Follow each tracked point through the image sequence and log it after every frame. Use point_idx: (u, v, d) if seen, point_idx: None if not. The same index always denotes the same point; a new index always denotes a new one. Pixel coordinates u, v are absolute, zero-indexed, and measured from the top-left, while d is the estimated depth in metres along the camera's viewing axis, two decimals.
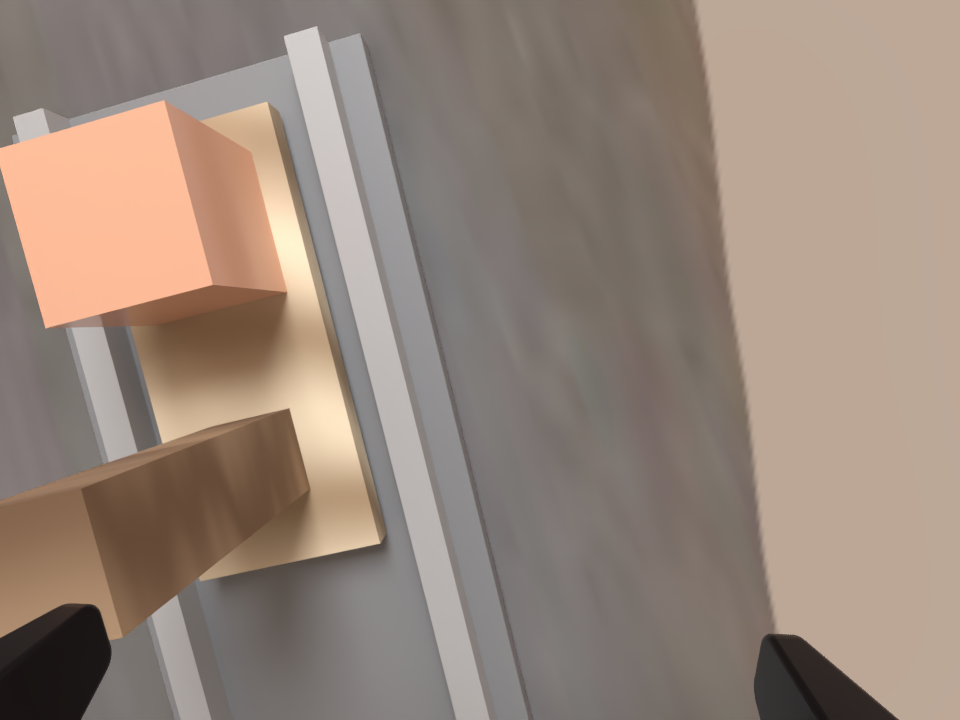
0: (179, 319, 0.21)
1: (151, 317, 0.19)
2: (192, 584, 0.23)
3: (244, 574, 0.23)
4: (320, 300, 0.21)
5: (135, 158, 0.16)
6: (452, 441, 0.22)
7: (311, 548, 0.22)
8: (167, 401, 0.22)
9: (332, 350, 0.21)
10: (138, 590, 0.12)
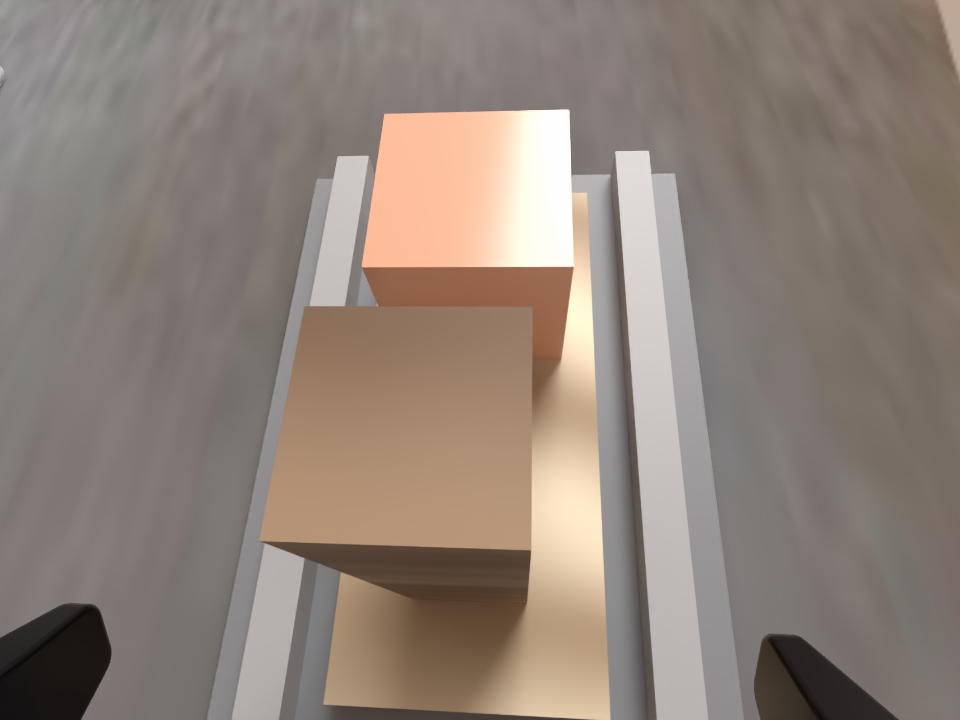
0: None
1: None
2: (292, 716, 0.16)
3: None
4: (594, 378, 0.18)
5: (523, 145, 0.15)
6: (718, 602, 0.16)
7: (505, 697, 0.14)
8: None
9: None
10: None
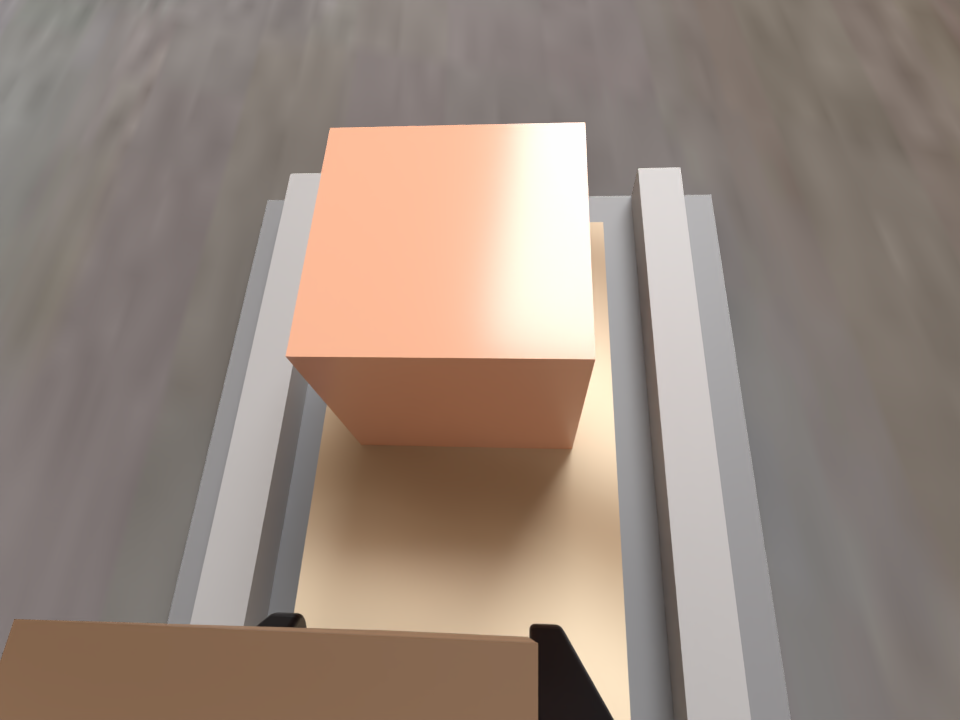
0: (398, 444, 0.14)
1: (394, 415, 0.12)
2: None
3: None
4: (615, 476, 0.14)
5: (521, 173, 0.11)
6: None
7: None
8: (329, 564, 0.13)
9: (620, 557, 0.13)
10: None
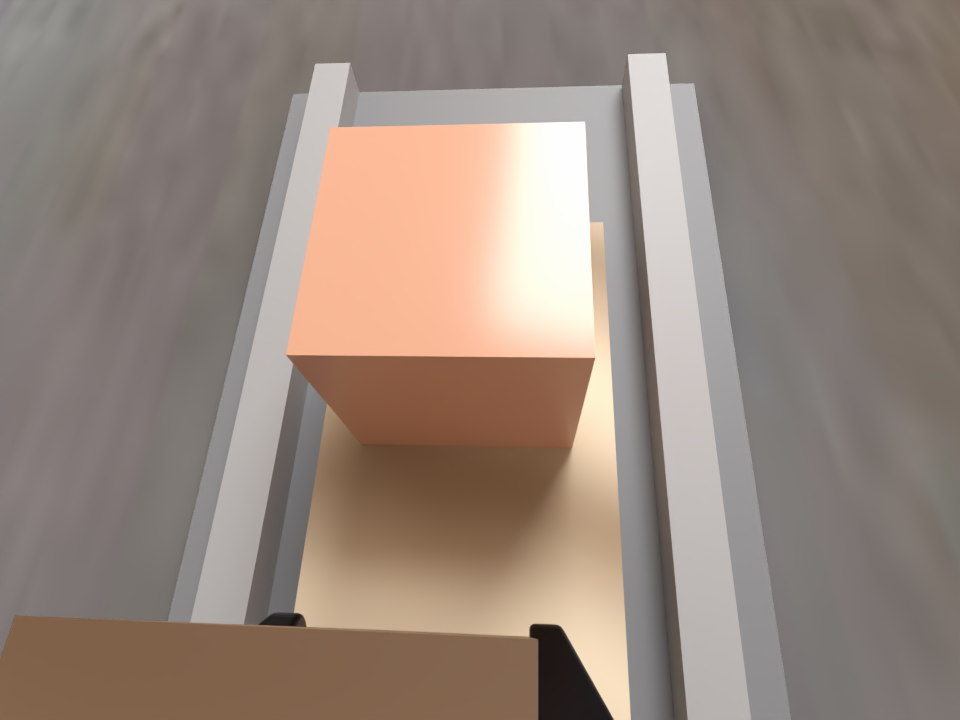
0: (398, 444, 0.14)
1: (394, 415, 0.12)
2: None
3: None
4: (615, 476, 0.14)
5: (522, 173, 0.11)
6: (752, 547, 0.14)
7: None
8: (329, 564, 0.13)
9: (620, 557, 0.13)
10: None
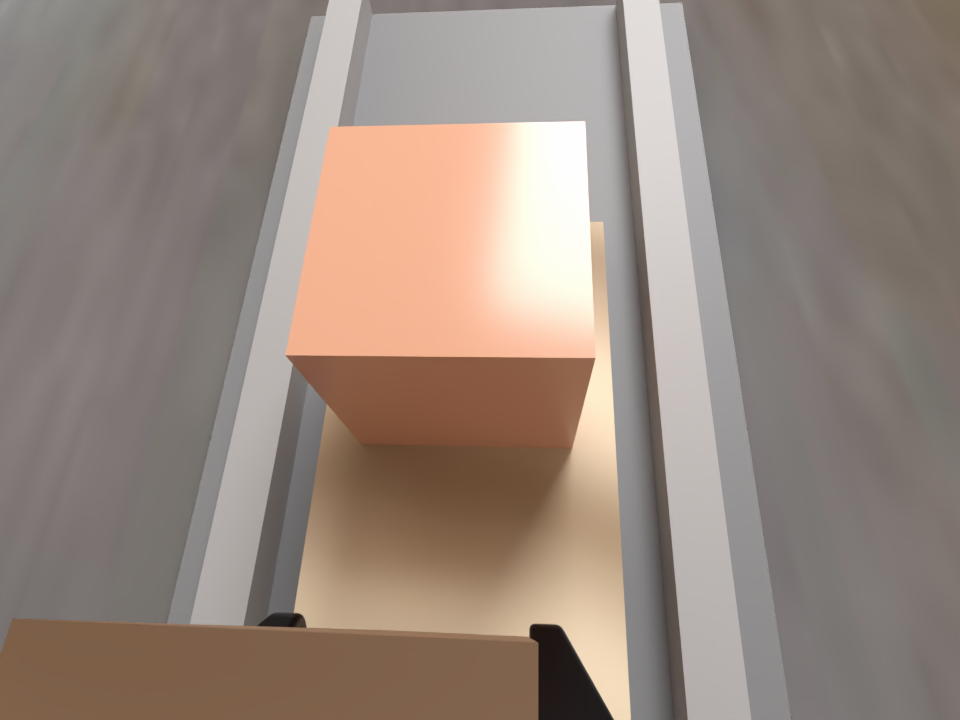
0: (398, 444, 0.14)
1: (394, 415, 0.12)
2: (285, 494, 0.15)
3: None
4: (615, 475, 0.14)
5: (522, 172, 0.11)
6: (729, 383, 0.16)
7: None
8: (328, 564, 0.13)
9: (620, 557, 0.13)
10: None
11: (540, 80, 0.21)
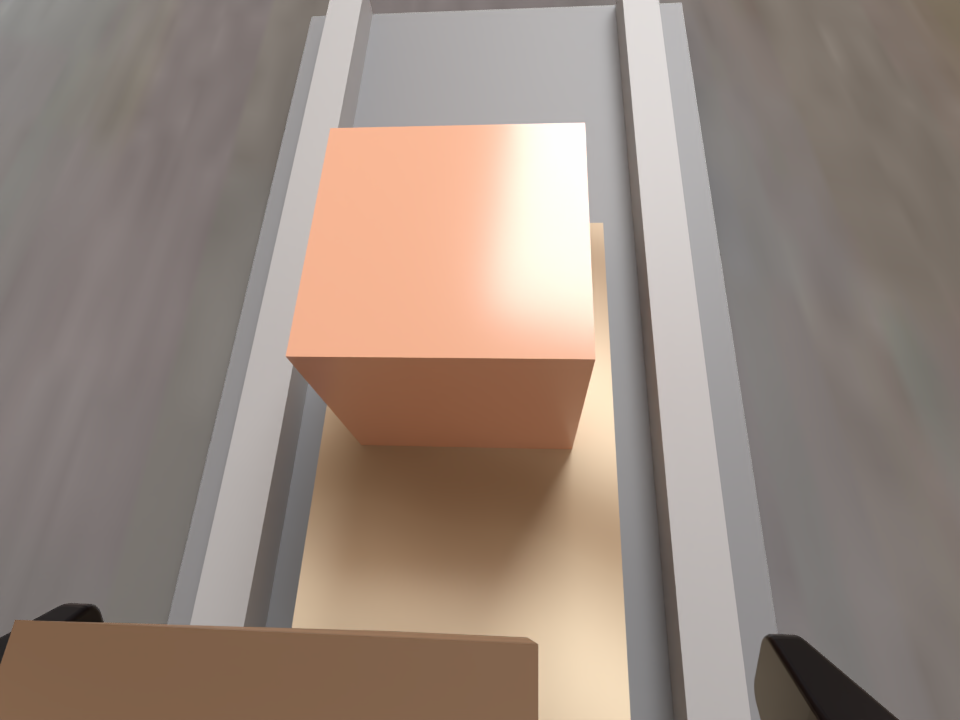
0: (398, 444, 0.14)
1: (394, 416, 0.12)
2: (286, 492, 0.15)
3: None
4: (615, 476, 0.14)
5: (522, 174, 0.11)
6: (728, 382, 0.16)
7: None
8: (329, 565, 0.13)
9: (620, 558, 0.13)
10: None
11: (540, 79, 0.21)
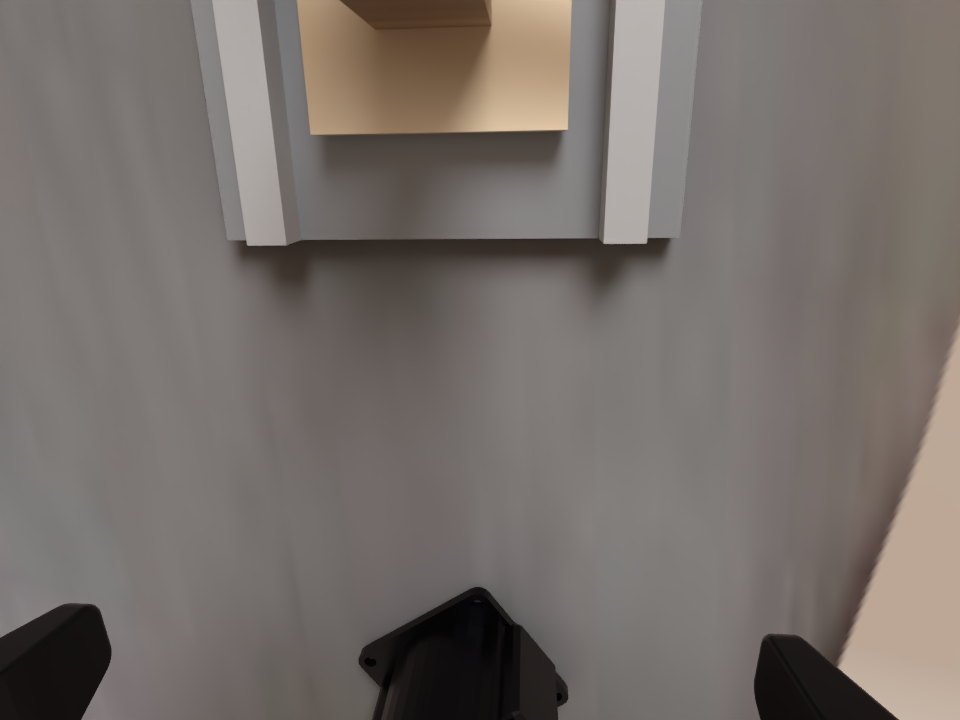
0: None
1: None
2: None
3: None
4: None
5: None
6: None
7: (473, 117, 0.16)
8: None
9: None
10: None
11: None
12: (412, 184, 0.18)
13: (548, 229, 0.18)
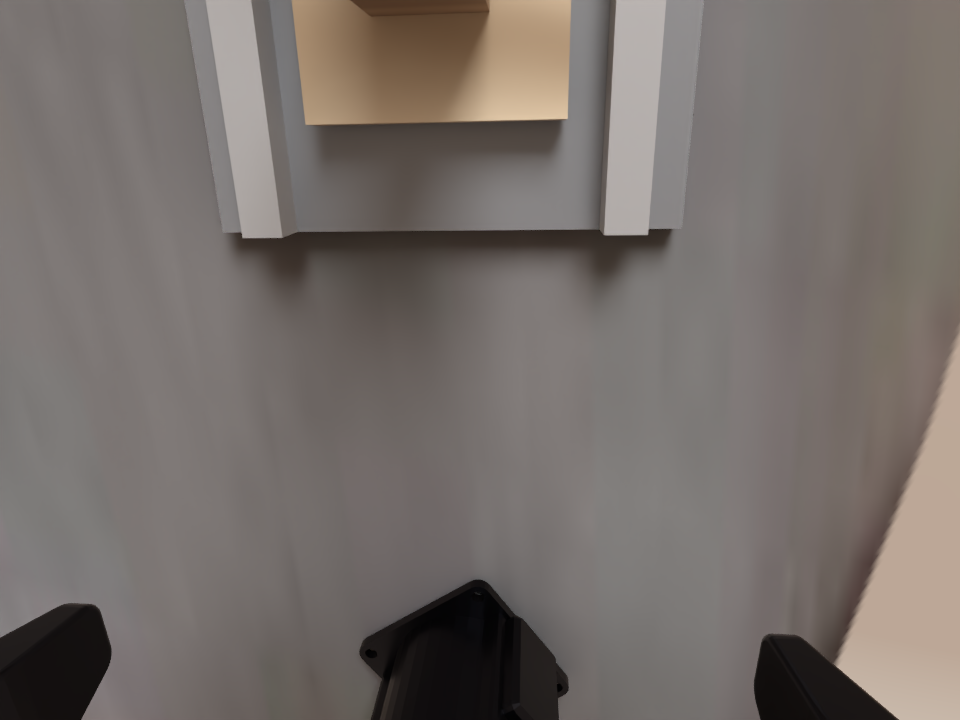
0: None
1: None
2: None
3: None
4: None
5: None
6: None
7: (471, 106, 0.16)
8: None
9: None
10: None
11: None
12: (409, 175, 0.18)
13: (548, 220, 0.18)
